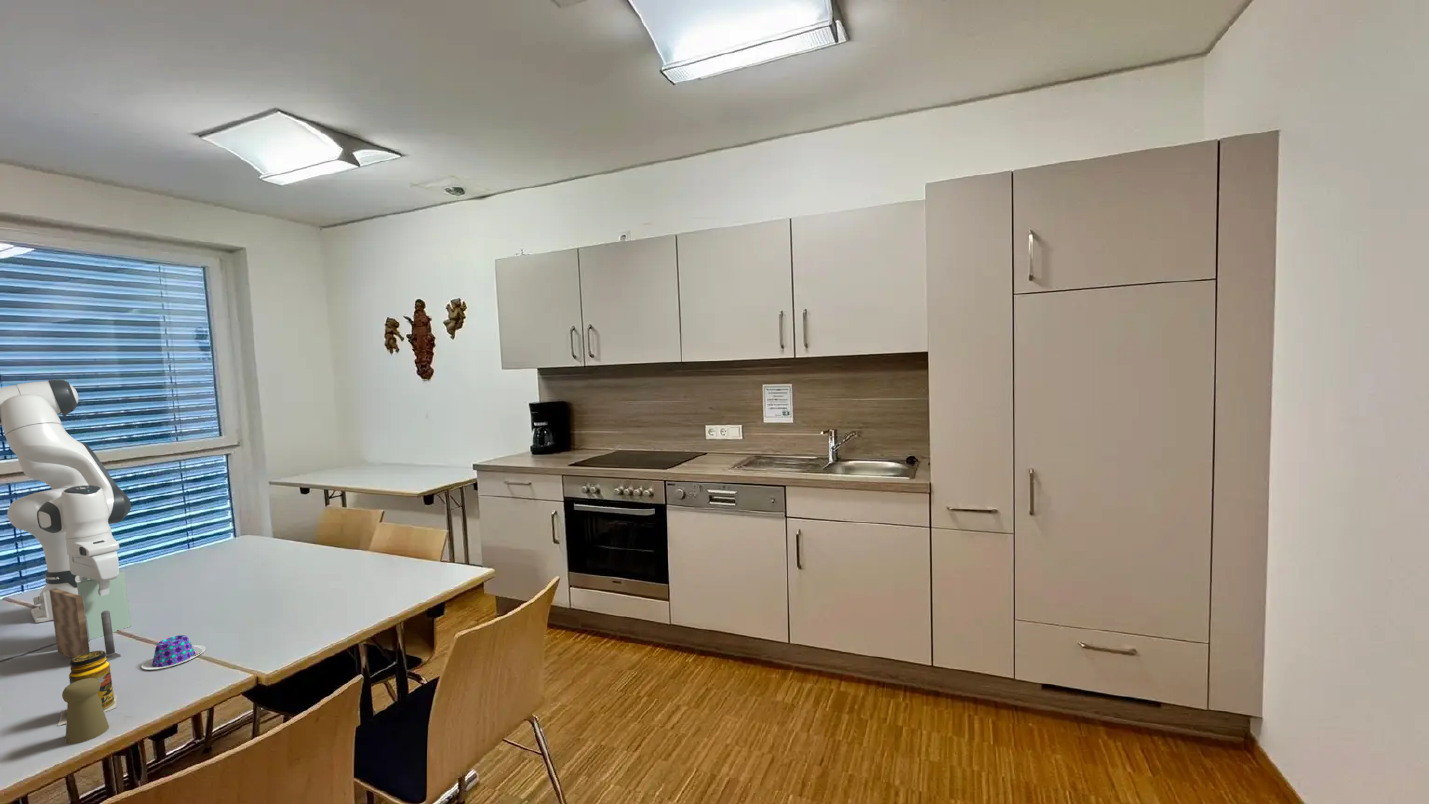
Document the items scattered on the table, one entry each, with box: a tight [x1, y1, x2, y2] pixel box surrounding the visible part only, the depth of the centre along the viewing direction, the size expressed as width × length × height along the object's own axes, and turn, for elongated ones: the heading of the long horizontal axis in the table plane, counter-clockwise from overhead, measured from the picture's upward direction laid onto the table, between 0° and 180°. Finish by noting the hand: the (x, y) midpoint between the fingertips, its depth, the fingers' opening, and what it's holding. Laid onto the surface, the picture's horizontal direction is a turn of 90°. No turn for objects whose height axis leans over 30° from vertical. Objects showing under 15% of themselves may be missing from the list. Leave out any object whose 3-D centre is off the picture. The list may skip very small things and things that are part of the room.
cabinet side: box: [49, 588, 121, 662], centre depth 152 cm, size 20×5×17 cm, turn 64°
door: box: [77, 570, 132, 642], centre depth 163 cm, size 5×14×16 cm, turn 154°
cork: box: [61, 678, 110, 745], centre depth 117 cm, size 6×6×11 cm
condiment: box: [57, 650, 118, 727], centre depth 126 cm, size 7×8×12 cm
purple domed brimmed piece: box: [140, 634, 206, 670], centre depth 148 cm, size 12×12×5 cm
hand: (96, 592), depth 164 cm, fingers open, 8 cm apart
